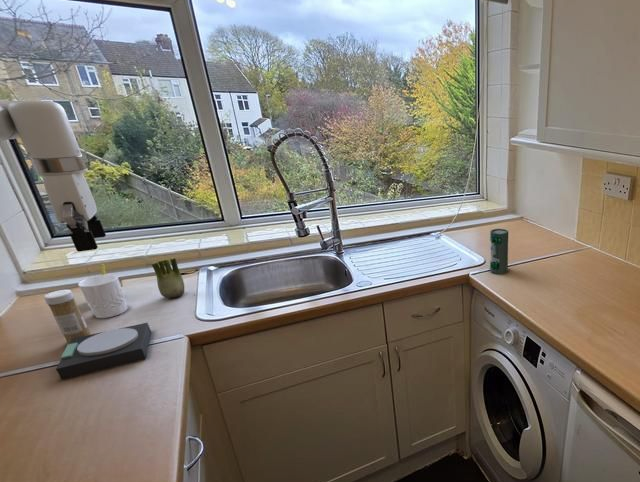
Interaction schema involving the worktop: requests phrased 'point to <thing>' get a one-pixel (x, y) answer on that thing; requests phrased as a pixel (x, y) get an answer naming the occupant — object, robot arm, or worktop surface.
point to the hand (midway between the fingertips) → (92, 243)
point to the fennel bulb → (168, 278)
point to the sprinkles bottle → (67, 314)
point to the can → (499, 251)
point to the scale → (104, 351)
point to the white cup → (104, 295)
